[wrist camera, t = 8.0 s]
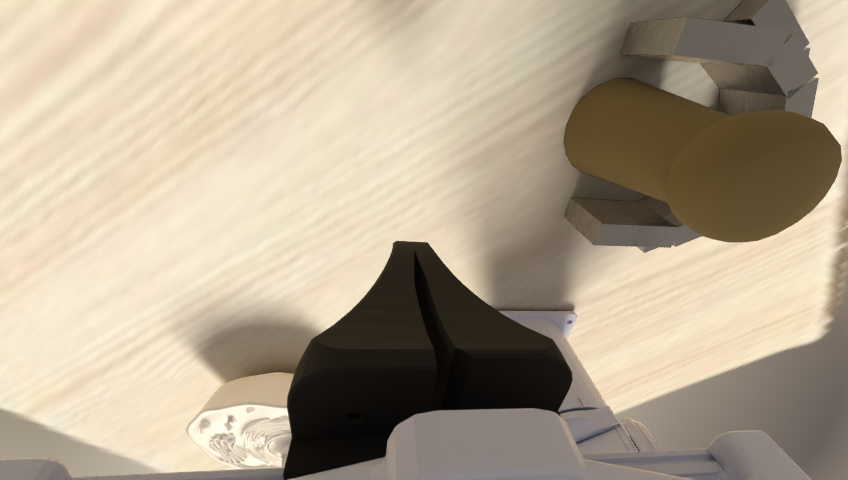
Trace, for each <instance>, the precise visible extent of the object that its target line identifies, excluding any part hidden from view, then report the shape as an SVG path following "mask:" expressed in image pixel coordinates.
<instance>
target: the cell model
mask: <svg viewBox="0 0 848 480" xmlns="http://www.w3.org/2000/svg"><path fill="white" fill-rule="evenodd" d="M293 376H294V374H289V373H283V372H274V373H267V374H261V375H254V376H249V377H244V378H239V379H235V380H232V381H230V382H228V383H225V384H224V385H222V386H221V387H220V388H218V390H217V391H216V392H215V393H214V394H213V396H212V397H211V398H210V399H209V401H208V402H207V403H206V405H205V406H204V407H203V408H202V410H201V411H200V412H199V413H198V414H197V416H196V417H195V418H194V419H193V420H192V421H191V422H190V423H189V425H188V426H187V429H186V431H187V434H188V435H189V437H190V438H191V439H192V440H193V441H194V442H195V443H196V444H197V445H199V446H200V447H201V448H202V449H203V450H204V451H205V452H206V453H207V454H208V455H209V456H210V457H212V458H213V459H215V460H216V461H219V462H221V463H224V464H227V465H229V466H232V467H235V468H237V469H240V470H241V469H263V468H284V467H285V463H286V459H287V455H288V451H289V447H290V443H291V439H292V436H291V429H290V423H289V417H288V411H287V396H288V393H289V390H290V386H291V383H292V379H293Z"/></svg>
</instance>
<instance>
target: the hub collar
mask: <svg viewBox="0 0 848 480" xmlns="http://www.w3.org/2000/svg"><path fill="white" fill-rule="evenodd" d="M808 44H809V42H808V40H807V38H806V36H805V34H804V33H803V31H802V29H801V27H800V26H799V24H798V22H797V20H796V19H795V17H794V15H793V13H792V12H791V10H790V8H789V6H788V4H787V3H786V1H785V0H743V2H742V3H741V4H740V5H739V6H738V7H737V8H736V9H735V10H734V11H733V12H732V13H731V14H730V15H729V16H728V18H727V19H726V20H725V22H722V21H715V20H707V19H700V18H692V17H683V18H673V19H663V20H653V21H644V22H634V23H631V25H630V28H629V31H628V33H627V36H626V39H625V42H624V45H623V48H622V51H621V54H627V55H635V56H644V57H652V58H661V59H670V60H678V61H687V62H696V63H700V64H701V65H702V66H703V68H704V69H705V70H706V71H707V73H708V74H709V75H710V77H711V78H712V79H713V81H714V82H715V83H716V84H717V86H718V87H719V112H722V113H724V114H727V115H729V116H733V115H736V114H738V113H744V112H756V111H767V110H782V111H789V112H795V113H798V114H801V115H804V116H807V117H809V118H811V116H812V111H813V106H814V100H815V95H816V89H817V84H818V79H819V78H813V77H814V76H815V75H816V74H817V73H818V72H817V70H816V69H815V67H814V65H813V64H812V62H811V60H810V58H809V51H810V48H805V47H806V46H807V45H808ZM565 218H566V219H567V220H568V221H569V222H570V223H571V224H572V225H573V226H574V227H576V228H577V229H578V230H579V231H580V232H581V233H582V234H583V235H584V236H585V237H586V238H587V239H588V240H589V241H590V242H591V243H592V244H593V245H608V246H637V247H638V248H639V249H640V250H642V251H643V252H644V253H645V252H648V251H650V250H653V249H655V248H658V247H669V248H671V246H672V245H674V246H675V247H676V246H678V245H681V244H683V243H686V242H688V241H691V240H693V239H696V238H698V237H701V235H699V234H697V233H696V232H694V231H692V230H691V229H689V228H688V227H687V226H685V225H684V224H683V223H681V222H680V221H679V220H678V219H677V218H676V217H675V215H674V214H673V213H672V212H671V209H670V207H669V205H668V203H667V202H664V201H662V200H659V199H656V198H653V197H650V196H649V197H646V198H644V199H642V200H639V201H637V202H636V201H617V200H598V199H579V198H571V199H570V202H569V205H568V208H567V211H566V214H565Z"/></svg>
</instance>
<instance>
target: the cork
mask: <svg viewBox="0 0 848 480" xmlns="http://www.w3.org/2000/svg"><path fill="white" fill-rule="evenodd" d="M564 146H565V152H566V156H567V157H568V159H569V161H570V162H571V164H572V165H573V166H574V167H576V168H577V169H578V170H580V171H581V172H583V173H586V174H589V175H592V176H595V177H597V178H600V179H603V180H606V181H609V182H611V183H614V184H617V185H620V186H622V187H625V188H628V189H631V190H634V191H636V192H639V193H642V194H645V195H648V196H650V197H653V198H656V199H659V200H662V201H664V202H667V203H668V205H669V207H670V209H671V212H672V213H673V214H674V215H675V217H676V218H677V219H678V220H679V221H680V222H681V223H683V224H684V225H685V226H687V227H688V228H689V229H691V230H692V231H694V232H696V233H697V234H699V235H701V236H704V237H708V238H711V239H715V240H720V241H724V242H749V241H758V240H761V239H764V238H767V237H770V236H773V235H775V234H777V233H779V232H781V231H783V230H784V229H786V228H788V227H790V226H792V225H793V224H795V223H797V222H798V221H799V220H801V219H802V218H803V217H804V216H806V215H807V214H808V213H810V212H811V211H812V210H813V209H814V208H815V207H816V206H817V205H818V204H819V202H820V201H821V200H822V199H823V198H824V197H825V196H826V194H827V193H828V191H829V189H830V188H831V186H832V184H833V183H834V181H835V179H836V177H837V174H838V171H839V167H840V164H841V161H842V157H841V145H840V144H839V143H838V142H837V140H836V139H835V138H834V136H833V135H832V134H831V132H830V131H829V130H828V129H827V127H826V126H825V125H824V124H822V123H820V122H818V121H816V120H814V119H812V118H809V117H807V116H804V115H801V114H798V113H795V112H789V111H782V110H767V111H756V112H744V113H738V114H736V115H733V116H729V115H727V114H724V113H722V112H719V111H716V110H714V109H711V108H708V107H706V106H703V105H701V104H698V103H695V102H693V101H690V100H688V99H685V98H682V97H680V96H677V95H675V94H672V93H669V92H667V91H664V90H661V89H659V88H656V87H654V86H651V85H648V84H646V83H643V82H640V81H637V80H634V79H631V78H620V79H612V80H610V81H608V82H605V83H603V84H601V85H598V86H597V87H596V88H594V89H593V90H592V91H590V92H589V93H588V94H587V95H585V96H584V97H583V99H582V100H581V101H580V102H579V104H578V105H577V106H576V107H575V109H574V110H573V112H572V114H571V116H570V118H569V121H568V123H567V125H566V130H565V136H564Z"/></svg>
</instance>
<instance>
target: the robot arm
mask: <svg viewBox="0 0 848 480" xmlns="http://www.w3.org/2000/svg"><path fill="white" fill-rule="evenodd" d="M576 318H577V315H576V314H575V312H573V311H497V310H496V309H494V308H493V307H491V306H490V305H488V304H487V303H485V302H484V301H483V300H481V299H480V298H479V297H478V296H476V295H475V294H474V293H473V292H471V291H470V290H469V289H468V288H467V287H466V286H464V285H463V284H462V283H461V282H460V281H459V280H458V279H457V278H456V277H455V276H454V275H453V274H452V272H451V271H450V270H449V269H448V268H447V267H446V265H445V264H444V263H443V262H442V261H441V259H440V258H439V257H438V256H437V254H436V253H435V252H434V250H433V249H432V248H431V246H430V245H429V244H428V243H426V242H406V241H396V242H394V243H393V249H392V253H391V255H390V258H389V260H388V262H387V264H386V266H385V268H384V270H383V271H382V273H381V275H380V276H379V278H378V279H377V281H376V282H375V284H374V285H373V287H372V288H371V289H370V290H369V292H368V293H367V294H366V295H365V296H364V298H363V299H362V300H361V301H360V302H359V303H358V304H357V305H356V306H355V307H354V308H353V309H352V310H351V311H350V312H349V313H347V314H346V315H345V316H344V317H343V318H341V319H340V320H339V321H338V322H337V323H335V324H334V325H333V326H331V327H330V328H328V329H327V330H325V331H324V332H322V333H321V334H319V335H318V336H316V337H314V338H313V339H312V340H311V342H310V343H309V345H308V347H307V349H306V350H305V352H304V354H303V356H302V358H301V360H300V362H299V364H298V367H297V369H296V371H295V374H294V376H293V379H292V383H291V386H290V390H289V393H288V396H287V411H288V417H289V423H290V429H291V436H292V439H291V443H290V447H289V451H288V455H287V459H286V463H285V467H284V468H263V469H241V470H219V471H197V472H175V473H155V474H154V473H153V474H131V475H112V476H111V475H110V476H89V477H88V476H87V477H71V474H70V472H69V470H68V468H67V467H66V466H65V465H64V464H63V463H61V462H60V461H58V460H54V459H51V458H42V457H33V458H7V459H0V480H811V479H810V478H809V477H808V476H807V475H806V474H805V473H804V472H803V471H802V470H801V469H800V468H799V467H798V466H797V464H795V462H794V461H793V460H792V459H791V458H790V457H789V456H788V455H787V454H786V453H785V452H784V451H783V450H782V449H781V448H780V447H779V446H778V445H777V444H776V443H775V442H774V441H773V440H772V439H771V438H770V437H769V436H768V435H767V434H766V433H765V432H764V431H760V430H749V431H730V432H725V433H722V434H720V435H718V436H717V437H716V438H714V439H713V441H711V443H710V444H709V445H708V448H702V449H680V450H661V448H660V447H659V445H658V444H657V442H656V441H655V440H654V438H653V437H652V435H651V434H650V433H649V431H648V430H647V429H646V427H645V426H644V425H643V424H642V423H640V422H637V421H635V420H634V421H633V420H632V419H631V418H630V417H626V418H623V419H621V422H622V423H623V425H624V426H625V428H626V430H627V431H628V433H629V434H630V438H631V440H632V442H633V443H634V445H635V446H636V448H637V450H638V451H636V449H635V448H634V446H633V445H632V443H631V441H630V440H629V438H628V437H627V435H626V433H625V431H624V430H623V428H622V427H621V425H620V423H619V422H618V420H617V419H616V417H615V415H614V414H613V412H612V410H611V409H610V407H609V406H607V405H606V403H605V401H604V400H603V398H602V396H601V395H600V393H599V392H598V390H597V388H596V387H595V385H594V383H593V382H592V380H591V379H590V377H589V375H588V374H587V372H586V370H585V369H584V367H583V365H582V364H581V362H580V361H579V359H578V357H577V356H576V354H575V352H574V351H573V349H572V347H571V346H570V344H569V343H568V341H567V338H568V336H569V334H570V331H571V329H572V327H573V325H574V322H575V320H576Z"/></svg>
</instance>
